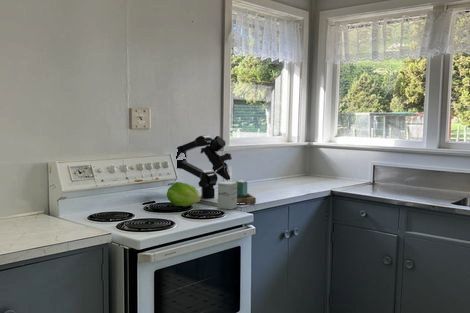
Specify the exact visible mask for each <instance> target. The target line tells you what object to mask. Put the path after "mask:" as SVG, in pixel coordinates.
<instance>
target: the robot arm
mask: <svg viewBox="0 0 470 313" xmlns="http://www.w3.org/2000/svg"><path fill="white" fill-rule="evenodd" d="M199 147H200V154H205V156H206V157H207V159H208V162H210V163H211V165H212V168H211V169H212V170H211V169H201V168H199V167H197V166H195V165H193V164H192V163H189V162H188V160H187V152H188V151H189V152H190V151H191V150H195V149H196V148H199ZM201 147H202V148H201ZM224 147H226V141H225V139H223V138H222V137H221V136H220V135H216V136H215V137H214V138H212V137H211V136H210V135H209V134H207V135H199V136H197V137H196V138H195V139H194V140H193V141H190V142H187V143H185V144H182V145H179V146H177V147H176V149H178V152H177V156H176V159H177V158H178V157H180V156H181V155H182V153H184V154H185V157H186V159H183V160H177V168H176V169H180V170H181V169H182V170H184V171H185V172H187V173H189V174H191V175H192V176H195V177H196V178H199V180H200V181H198V183H197V184H198V187H199V188H200V187H201V189H200V190H201V194H200V197H201V199H214V198H215V194H216V193H215V192H216V191H215V188H214V186H216V185H217V182H218V176H220V177H221V178H222V179H225V180H226V181H231V176H230V174H229V172H228V168H229V166H228V164H227V161H230V160H232V154H231V153H227V152H226V153H224V154H223V155H220V154H219V153H218V152H219V151H221V149H224ZM225 161H226V162H225Z"/></svg>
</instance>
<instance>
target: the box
mask: <svg viewBox="0 0 470 313" xmlns="http://www.w3.org/2000/svg"><path fill="white" fill-rule="evenodd" d="M237 203H256V204H257V198H256V197H255V196H254V195H252V194H250V193H249V192H247V198H237Z"/></svg>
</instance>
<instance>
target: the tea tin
mask: <svg viewBox="0 0 470 313" xmlns="http://www.w3.org/2000/svg"><path fill="white" fill-rule="evenodd" d="M236 182H237V198H247V193H248V181H247V180H237V181H236Z"/></svg>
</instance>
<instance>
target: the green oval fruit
mask: <svg viewBox="0 0 470 313" xmlns="http://www.w3.org/2000/svg"><path fill="white" fill-rule="evenodd" d="M166 197H167V200H168V201H169V202H170V203H172V204H173V206H183V207H189V206H190V207H191V206H192V205H195V204H196V203H199V202H200V201H201V199H202V197H201V194H200V193H199V191H198V190H197V188H196V187H195V186H192V185H191V184H188V183H184V182H180V181H177V182H174V183H172V185H170V186H169V188H168V189H167V191H166Z"/></svg>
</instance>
